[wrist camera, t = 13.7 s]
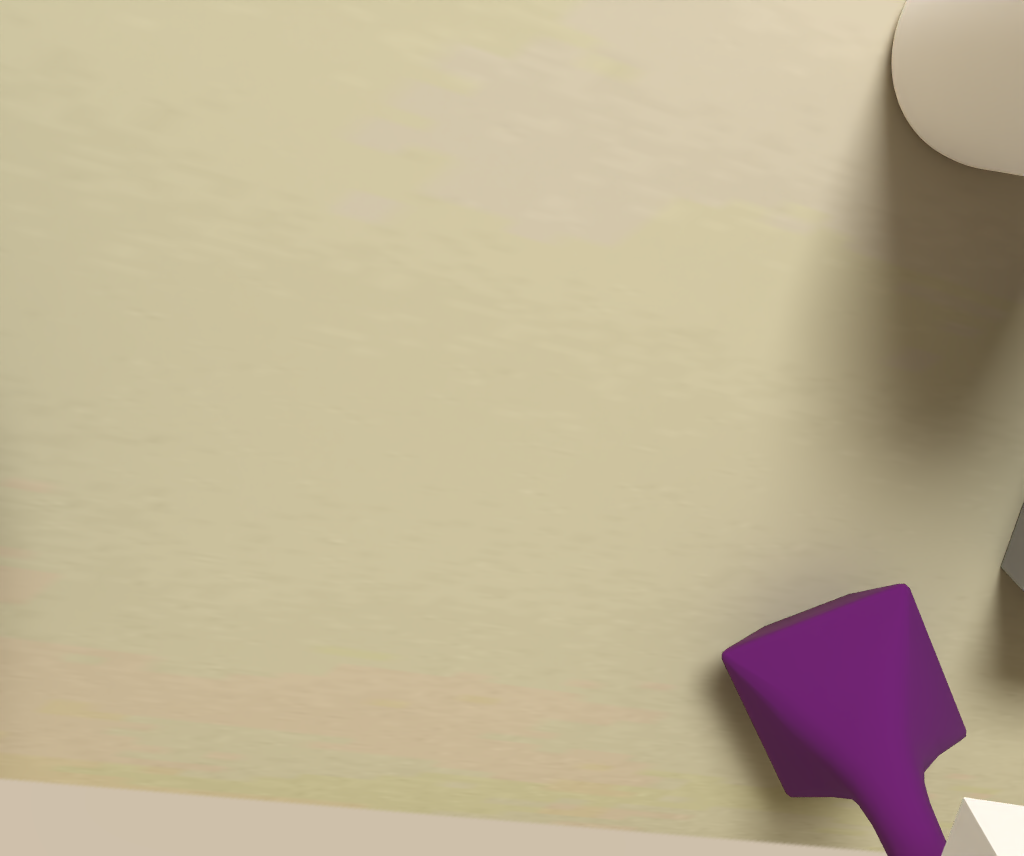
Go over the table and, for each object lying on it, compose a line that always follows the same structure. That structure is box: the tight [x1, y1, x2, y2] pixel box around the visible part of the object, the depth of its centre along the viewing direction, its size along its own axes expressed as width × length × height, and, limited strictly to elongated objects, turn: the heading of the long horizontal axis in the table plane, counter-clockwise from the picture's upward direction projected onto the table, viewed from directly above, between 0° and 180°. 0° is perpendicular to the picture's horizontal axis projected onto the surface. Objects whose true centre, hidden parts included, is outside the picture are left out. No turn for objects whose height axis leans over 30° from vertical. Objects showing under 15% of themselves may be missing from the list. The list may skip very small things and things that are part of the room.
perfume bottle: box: [722, 584, 966, 856], centre depth 32 cm, size 8×8×18 cm
